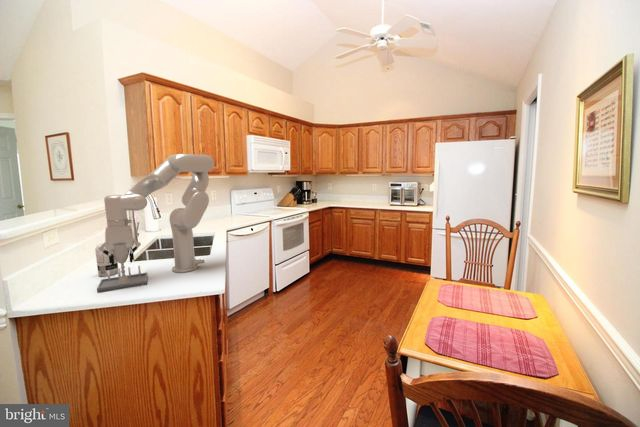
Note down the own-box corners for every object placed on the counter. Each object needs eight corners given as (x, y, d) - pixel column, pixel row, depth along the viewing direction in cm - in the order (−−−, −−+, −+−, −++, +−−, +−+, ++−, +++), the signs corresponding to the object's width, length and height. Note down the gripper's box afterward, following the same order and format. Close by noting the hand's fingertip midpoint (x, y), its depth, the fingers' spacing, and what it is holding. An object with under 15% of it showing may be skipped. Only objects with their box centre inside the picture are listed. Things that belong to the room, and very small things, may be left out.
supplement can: (101, 272, 149) (97, 243, 147) (120, 270, 153) (117, 241, 151) (96, 278, 142) (92, 247, 140) (116, 275, 145) (113, 245, 143)
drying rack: (147, 276, 143) (146, 264, 142) (146, 284, 133) (145, 271, 132) (101, 283, 135) (100, 270, 134) (97, 292, 124) (95, 279, 123)
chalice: (121, 279, 137) (117, 241, 135) (136, 278, 138) (132, 240, 135) (111, 285, 130) (107, 244, 127) (127, 284, 130) (123, 244, 128)
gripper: (141, 220, 137) (144, 257, 140) (94, 224, 129) (99, 263, 132) (140, 222, 131) (144, 262, 133) (91, 226, 122) (96, 268, 125)
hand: (122, 262), depth 132 cm, fingers open, 6 cm apart
